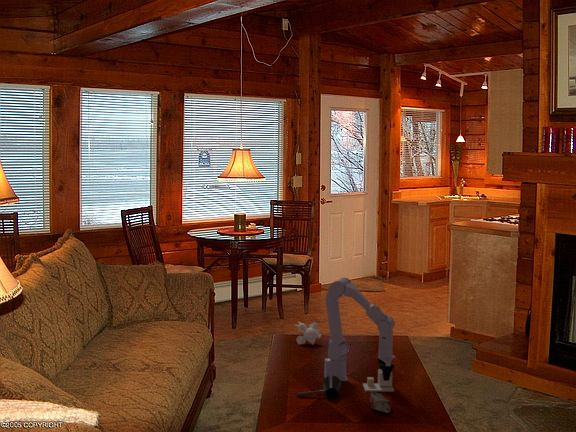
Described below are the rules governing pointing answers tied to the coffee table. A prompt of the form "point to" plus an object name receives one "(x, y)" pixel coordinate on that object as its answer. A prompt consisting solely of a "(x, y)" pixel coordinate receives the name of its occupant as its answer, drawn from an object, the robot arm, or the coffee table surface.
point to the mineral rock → (380, 402)
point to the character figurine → (308, 333)
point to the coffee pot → (326, 388)
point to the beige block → (381, 380)
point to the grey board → (376, 386)
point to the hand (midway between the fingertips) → (384, 377)
